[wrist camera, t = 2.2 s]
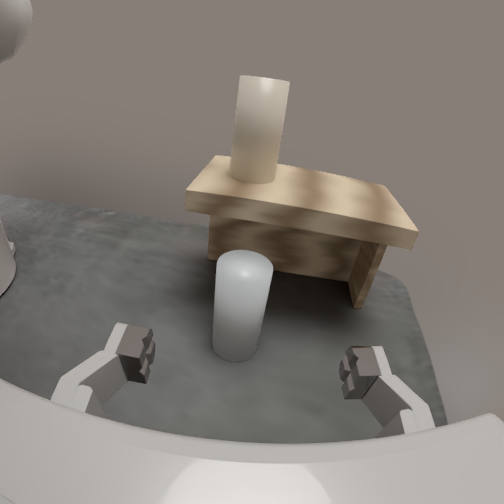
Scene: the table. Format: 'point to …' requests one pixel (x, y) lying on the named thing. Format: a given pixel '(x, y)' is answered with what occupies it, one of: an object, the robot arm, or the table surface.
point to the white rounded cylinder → (258, 129)
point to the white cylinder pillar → (240, 303)
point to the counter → (303, 222)
